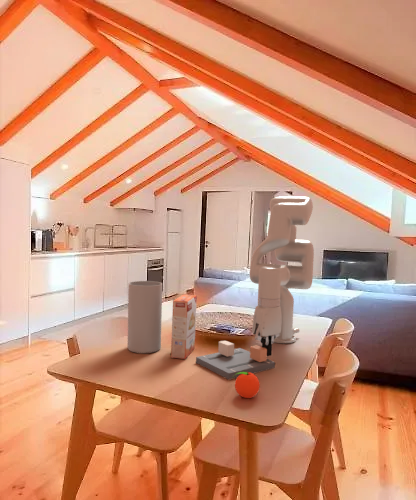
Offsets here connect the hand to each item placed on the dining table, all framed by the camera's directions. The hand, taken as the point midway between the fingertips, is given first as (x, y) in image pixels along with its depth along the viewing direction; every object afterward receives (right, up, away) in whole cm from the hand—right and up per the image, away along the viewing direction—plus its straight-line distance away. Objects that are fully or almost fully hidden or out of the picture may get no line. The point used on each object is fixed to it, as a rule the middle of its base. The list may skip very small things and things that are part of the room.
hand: (266, 354), depth 142 cm
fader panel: (-11, -3, -2) cm, 12 cm away
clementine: (-10, -5, -27) cm, 29 cm away
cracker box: (-29, -2, +10) cm, 31 cm away
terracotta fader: (-3, -1, -2) cm, 4 cm away
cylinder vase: (-45, -1, +13) cm, 47 cm away
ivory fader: (-14, 0, +2) cm, 14 cm away
